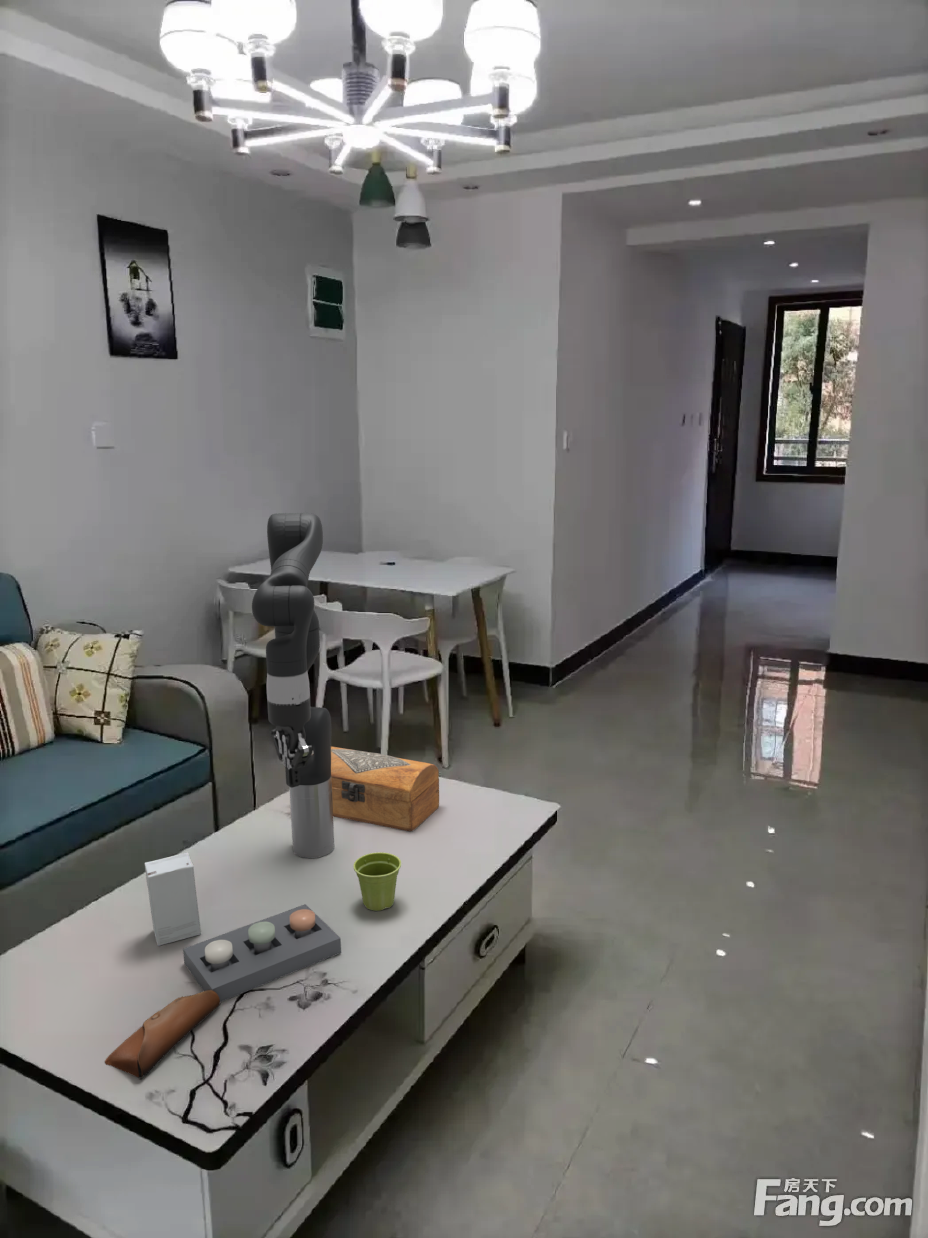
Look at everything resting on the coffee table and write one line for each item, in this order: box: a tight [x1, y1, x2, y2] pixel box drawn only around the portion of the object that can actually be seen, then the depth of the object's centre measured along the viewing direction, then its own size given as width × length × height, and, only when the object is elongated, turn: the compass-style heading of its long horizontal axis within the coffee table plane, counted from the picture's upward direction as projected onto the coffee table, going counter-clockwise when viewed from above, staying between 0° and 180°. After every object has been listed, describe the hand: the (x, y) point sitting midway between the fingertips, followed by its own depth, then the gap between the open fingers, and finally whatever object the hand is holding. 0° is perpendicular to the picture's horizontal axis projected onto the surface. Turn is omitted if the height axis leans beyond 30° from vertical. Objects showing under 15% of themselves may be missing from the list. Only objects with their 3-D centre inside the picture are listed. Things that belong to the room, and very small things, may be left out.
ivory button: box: [205, 940, 233, 972], centre depth 154 cm, size 5×5×4 cm
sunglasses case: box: [104, 990, 221, 1080], centre depth 140 cm, size 18×7×7 cm, turn 157°
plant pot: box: [352, 851, 402, 912], centre depth 176 cm, size 9×9×9 cm
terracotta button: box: [290, 909, 316, 939], centre depth 163 cm, size 5×5×4 cm
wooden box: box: [311, 745, 440, 832], centre depth 216 cm, size 30×16×14 cm, turn 65°
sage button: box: [248, 921, 275, 955], centre depth 158 cm, size 5×5×4 cm
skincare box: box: [144, 852, 202, 947], centre depth 165 cm, size 8×6×15 cm
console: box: [182, 903, 342, 1003], centre depth 159 cm, size 14×24×3 cm, turn 127°
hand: (293, 785), depth 162 cm, fingers closed
